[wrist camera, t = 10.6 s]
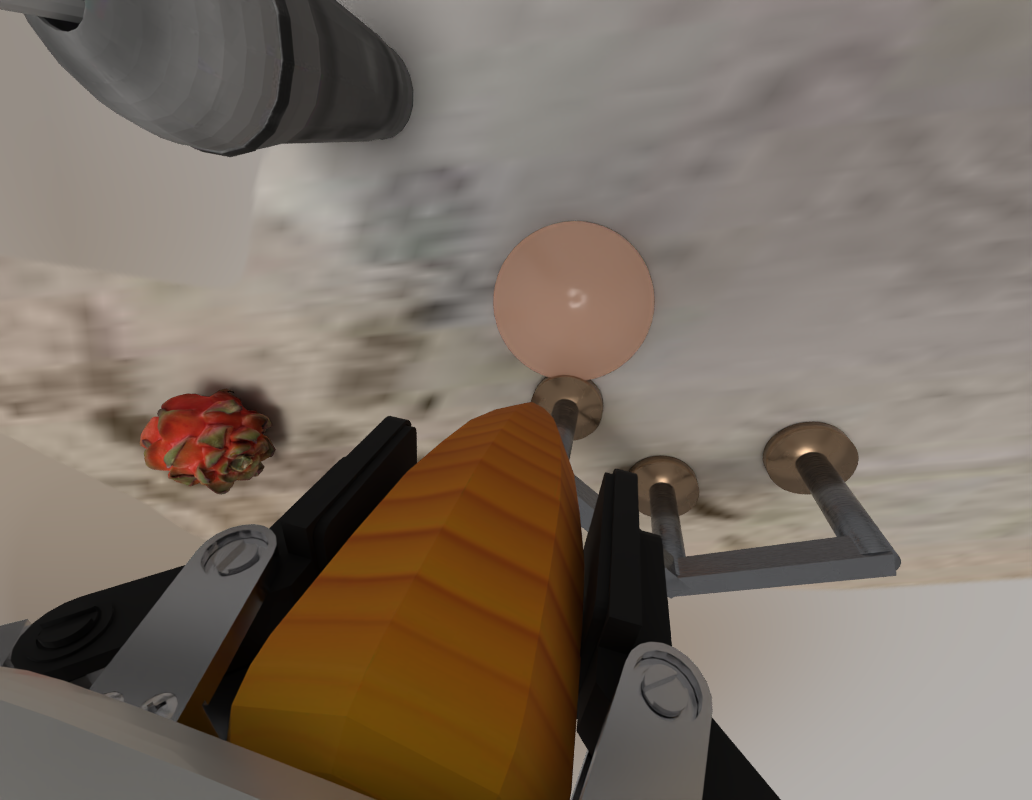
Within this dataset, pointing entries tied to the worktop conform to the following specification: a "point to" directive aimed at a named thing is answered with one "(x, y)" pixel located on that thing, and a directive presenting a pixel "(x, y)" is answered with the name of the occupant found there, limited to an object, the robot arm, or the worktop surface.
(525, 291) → the terracotta coaster
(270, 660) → the carrot
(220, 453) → the dragon fruit
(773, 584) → the grey cabinet handle
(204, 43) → the beverage cup
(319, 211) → the worktop surface
